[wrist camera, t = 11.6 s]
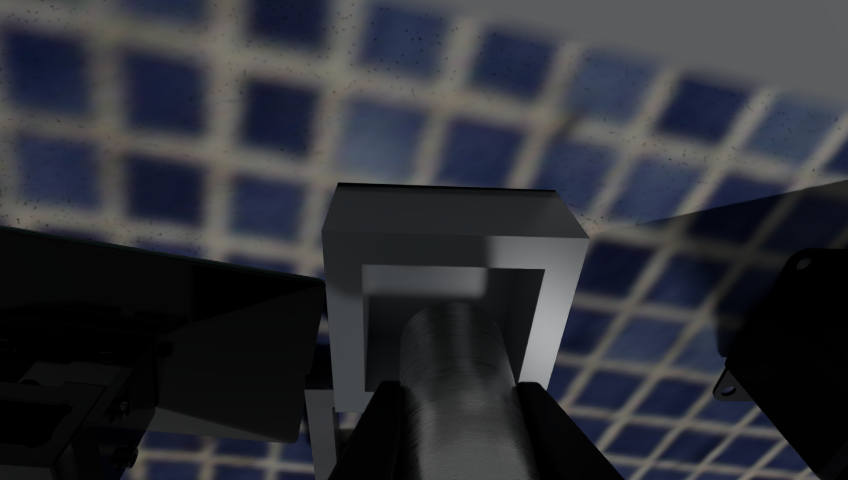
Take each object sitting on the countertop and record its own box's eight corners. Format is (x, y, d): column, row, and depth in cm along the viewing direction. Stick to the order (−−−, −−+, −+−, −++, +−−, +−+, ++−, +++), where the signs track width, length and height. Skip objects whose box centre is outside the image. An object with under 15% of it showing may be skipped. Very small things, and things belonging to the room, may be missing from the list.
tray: (555, 190, 11) (589, 238, 9) (519, 347, 14) (539, 413, 12) (338, 182, 11) (321, 231, 9) (346, 345, 14) (335, 412, 12)
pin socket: (461, 366, 14) (465, 391, 14) (449, 457, 17) (451, 482, 16) (310, 365, 14) (304, 389, 13) (320, 457, 17) (316, 483, 16)
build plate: (329, 276, 12) (303, 420, 8) (298, 436, 16) (269, 592, 12) (-234, 185, 10) (-666, 330, 6) (-120, 401, 13) (-337, 583, 9)
